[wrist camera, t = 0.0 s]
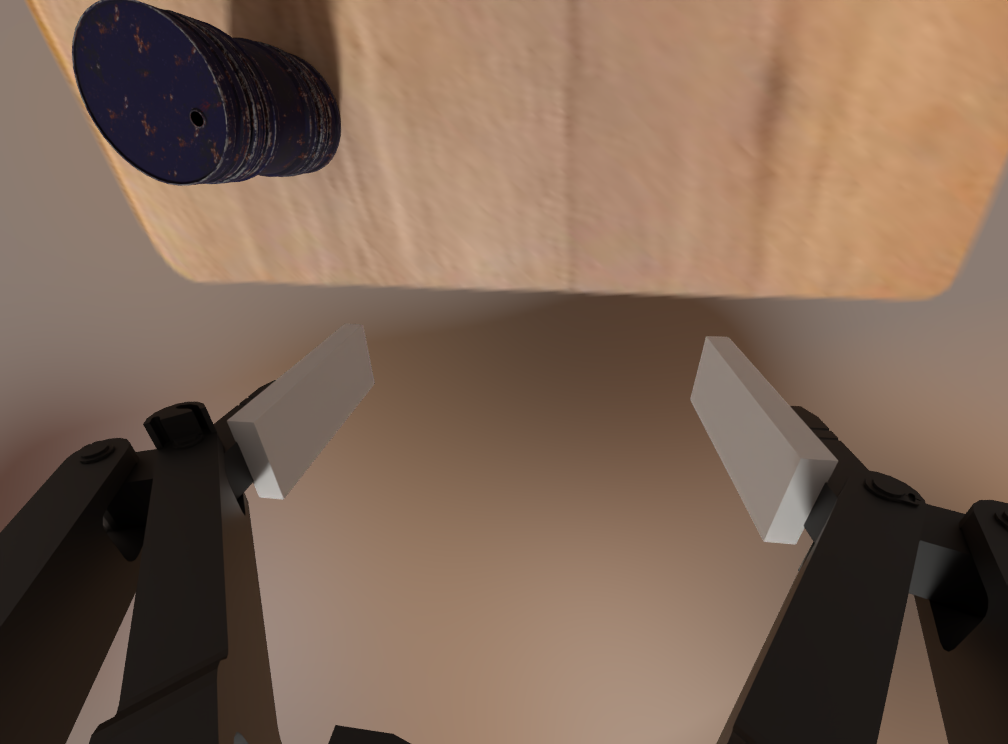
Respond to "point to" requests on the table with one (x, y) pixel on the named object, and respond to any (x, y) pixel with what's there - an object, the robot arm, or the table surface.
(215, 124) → the navy cylinder
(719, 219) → the table surface
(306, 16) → the table surface
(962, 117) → the table surface
